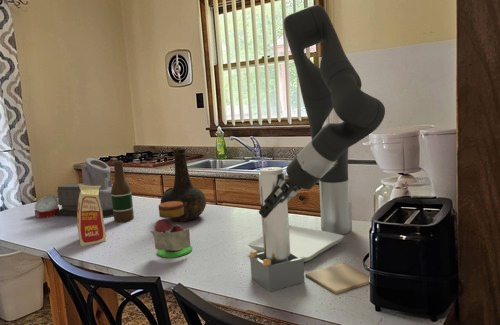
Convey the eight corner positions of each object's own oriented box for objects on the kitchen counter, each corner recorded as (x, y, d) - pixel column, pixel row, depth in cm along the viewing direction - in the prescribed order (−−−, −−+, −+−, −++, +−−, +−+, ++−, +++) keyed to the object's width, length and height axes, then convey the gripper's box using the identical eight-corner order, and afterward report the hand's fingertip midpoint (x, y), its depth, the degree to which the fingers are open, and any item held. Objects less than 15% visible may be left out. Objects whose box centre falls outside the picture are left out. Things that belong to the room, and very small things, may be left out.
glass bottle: (180, 211, 179) (174, 145, 175) (216, 214, 171) (210, 145, 167) (152, 222, 164) (145, 151, 160) (189, 226, 156) (183, 151, 152)
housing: (284, 269, 111) (282, 242, 110) (304, 281, 103) (303, 253, 102) (249, 278, 107) (247, 250, 106) (268, 292, 98) (266, 262, 97)
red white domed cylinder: (61, 223, 190) (68, 204, 188) (41, 227, 181) (48, 207, 179) (46, 210, 195) (52, 191, 192) (26, 213, 186) (32, 193, 183)
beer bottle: (110, 222, 169) (103, 162, 165) (122, 216, 176) (116, 159, 172) (125, 223, 166) (119, 162, 162) (138, 217, 173) (132, 159, 169)
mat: (343, 265, 111) (343, 263, 111) (376, 281, 101) (376, 278, 101) (305, 275, 106) (305, 273, 106) (335, 293, 95) (335, 291, 95)
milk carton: (81, 246, 141) (73, 187, 138) (78, 239, 149) (71, 183, 146) (109, 240, 145) (102, 183, 142) (105, 233, 153) (98, 179, 150)
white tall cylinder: (290, 273, 101) (283, 170, 97) (263, 273, 102) (255, 171, 98) (292, 262, 107) (286, 165, 103) (267, 262, 108) (260, 166, 104)
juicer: (132, 209, 189) (126, 154, 186) (111, 219, 174) (104, 160, 170) (75, 208, 197) (69, 156, 194) (50, 217, 182) (43, 161, 179)
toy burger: (152, 248, 134) (147, 202, 132) (192, 243, 137) (188, 197, 135) (152, 261, 123) (147, 211, 121) (195, 255, 125) (191, 206, 123)
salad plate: (307, 269, 111) (307, 256, 111) (246, 254, 125) (245, 242, 125) (346, 245, 127) (345, 234, 127) (288, 234, 141) (287, 224, 140)
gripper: (312, 148, 102) (271, 193, 110) (285, 157, 90) (242, 207, 98) (334, 170, 100) (291, 214, 108) (309, 183, 88) (264, 232, 96)
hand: (268, 211), depth 103 cm, fingers closed on white tall cylinder, 6 cm apart
